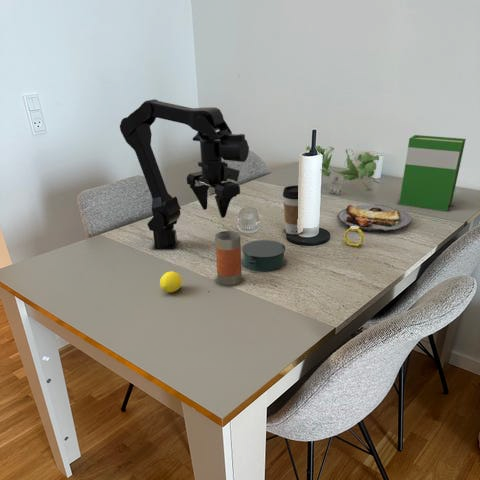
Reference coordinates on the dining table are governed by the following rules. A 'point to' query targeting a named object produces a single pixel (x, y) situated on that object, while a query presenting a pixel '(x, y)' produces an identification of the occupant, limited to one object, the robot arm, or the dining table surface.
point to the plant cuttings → (349, 166)
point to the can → (228, 257)
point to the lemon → (171, 281)
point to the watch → (354, 228)
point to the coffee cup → (291, 209)
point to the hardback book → (431, 171)
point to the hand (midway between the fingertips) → (213, 213)
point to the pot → (263, 255)
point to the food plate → (374, 217)
